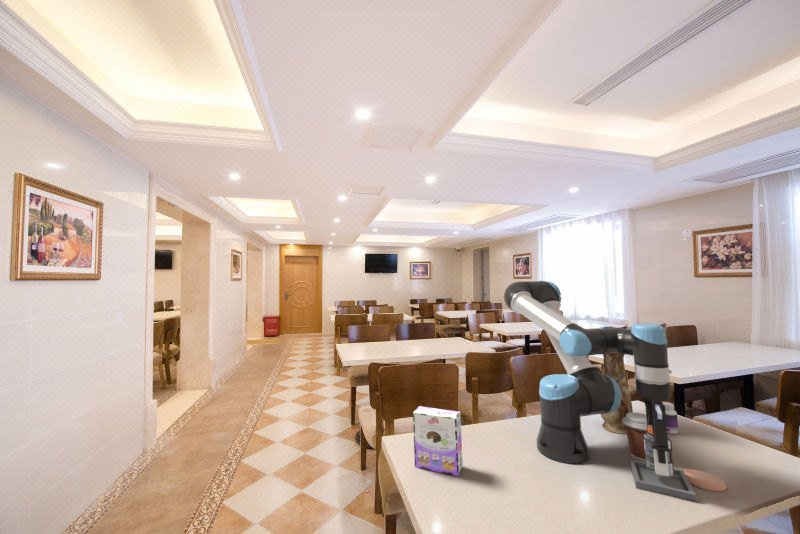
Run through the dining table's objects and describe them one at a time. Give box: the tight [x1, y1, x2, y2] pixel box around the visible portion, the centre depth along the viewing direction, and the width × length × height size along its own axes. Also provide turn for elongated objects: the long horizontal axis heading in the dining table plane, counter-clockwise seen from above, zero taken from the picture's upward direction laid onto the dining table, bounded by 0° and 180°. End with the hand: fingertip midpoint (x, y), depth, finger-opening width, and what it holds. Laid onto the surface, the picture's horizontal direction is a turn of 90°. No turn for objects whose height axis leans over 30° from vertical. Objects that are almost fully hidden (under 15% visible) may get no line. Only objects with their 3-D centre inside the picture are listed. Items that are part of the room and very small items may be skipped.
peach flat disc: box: [682, 468, 727, 493], centre depth 85 cm, size 9×9×1 cm
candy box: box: [412, 405, 464, 477], centre depth 95 cm, size 14×6×16 cm, turn 65°
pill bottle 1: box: [644, 425, 675, 476], centre depth 85 cm, size 6×6×11 cm
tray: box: [629, 459, 698, 504], centre depth 85 cm, size 12×12×2 cm
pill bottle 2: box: [661, 401, 680, 435], centre depth 114 cm, size 5×5×10 cm
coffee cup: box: [622, 411, 648, 462], centre depth 98 cm, size 9×9×12 cm
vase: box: [599, 353, 634, 435], centre depth 118 cm, size 10×11×30 cm
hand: (659, 467), depth 85 cm, fingers closed on pill bottle 1, 6 cm apart
